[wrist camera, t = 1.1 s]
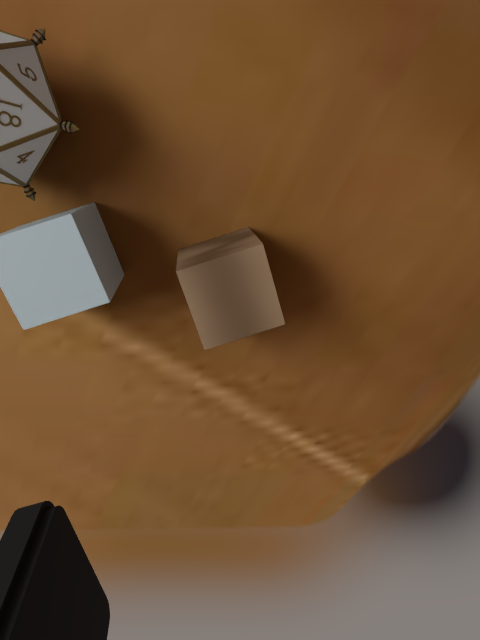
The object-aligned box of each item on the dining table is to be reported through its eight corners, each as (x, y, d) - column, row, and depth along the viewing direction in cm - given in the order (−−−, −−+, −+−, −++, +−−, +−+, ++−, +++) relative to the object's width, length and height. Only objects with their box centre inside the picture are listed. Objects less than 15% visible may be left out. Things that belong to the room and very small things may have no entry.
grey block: (94, 201, 27) (70, 213, 22) (124, 274, 29) (109, 302, 24) (19, 225, 27) (-23, 243, 22) (54, 296, 29) (23, 329, 24)
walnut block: (248, 226, 29) (262, 243, 23) (267, 294, 31) (285, 324, 25) (178, 249, 29) (175, 271, 23) (201, 315, 31) (204, 350, 25)
